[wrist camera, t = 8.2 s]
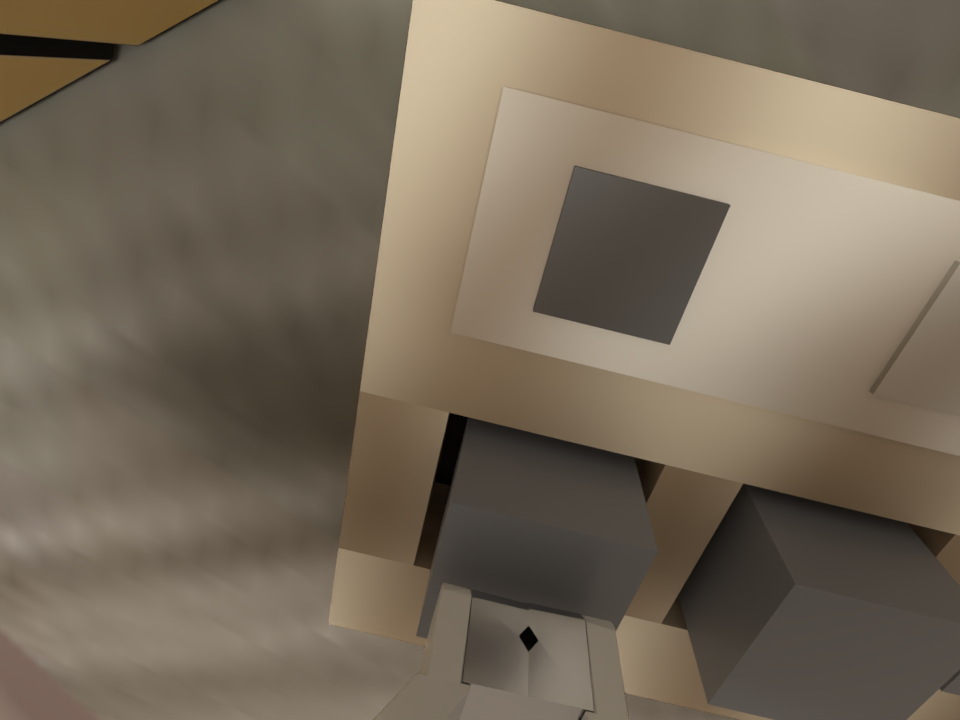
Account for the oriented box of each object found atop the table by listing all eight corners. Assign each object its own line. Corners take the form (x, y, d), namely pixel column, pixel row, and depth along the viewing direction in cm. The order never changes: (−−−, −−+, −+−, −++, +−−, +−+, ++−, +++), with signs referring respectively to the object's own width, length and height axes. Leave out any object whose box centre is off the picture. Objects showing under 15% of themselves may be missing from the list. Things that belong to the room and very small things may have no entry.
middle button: (895, 509, 12) (998, 632, 9) (813, 614, 14) (880, 744, 11) (737, 471, 12) (794, 583, 9) (674, 581, 14) (707, 704, 11)
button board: (1455, 262, 10) (1814, 333, 8) (985, 684, 17) (1079, 810, 14) (447, 6, 10) (411, -24, 7) (361, 537, 17) (323, 634, 14)
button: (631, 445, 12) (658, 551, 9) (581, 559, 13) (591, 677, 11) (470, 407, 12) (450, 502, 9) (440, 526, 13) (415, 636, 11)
